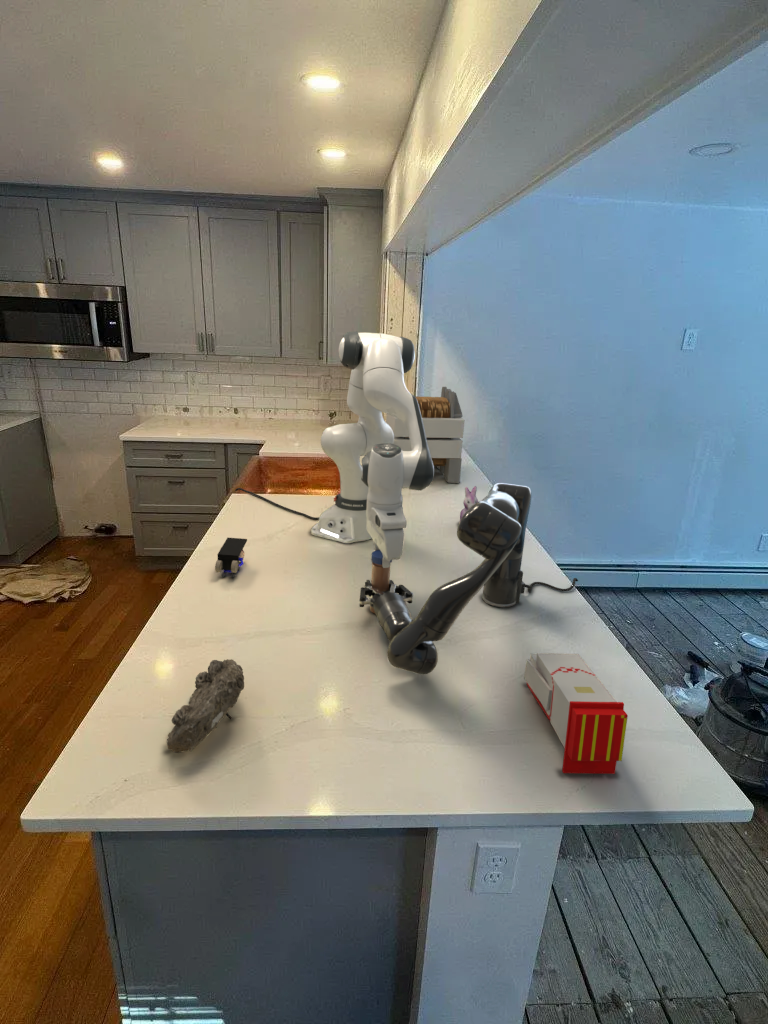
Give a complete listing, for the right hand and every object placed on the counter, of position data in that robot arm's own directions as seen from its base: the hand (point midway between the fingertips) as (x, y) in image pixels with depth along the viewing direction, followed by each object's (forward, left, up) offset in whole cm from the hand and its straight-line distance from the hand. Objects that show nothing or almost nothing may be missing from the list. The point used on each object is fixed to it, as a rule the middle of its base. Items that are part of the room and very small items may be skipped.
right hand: (377, 582), depth 149 cm
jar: (0, +3, -7) cm, 7 cm away
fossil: (+41, +37, -7) cm, 56 cm away
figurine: (-47, -52, -7) cm, 71 cm away
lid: (0, +3, +9) cm, 9 cm away
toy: (-26, +51, -7) cm, 57 cm away
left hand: (0, +3, +7) cm, 8 cm away
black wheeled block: (+38, -27, -7) cm, 47 cm away
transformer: (-49, -123, -7) cm, 132 cm away
